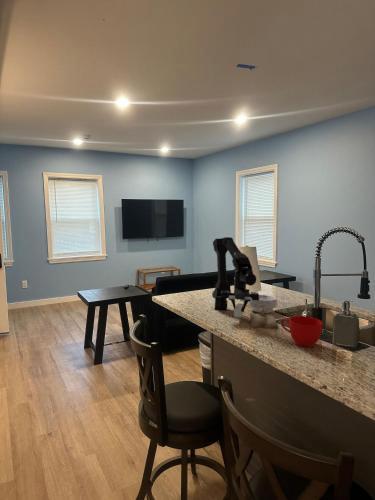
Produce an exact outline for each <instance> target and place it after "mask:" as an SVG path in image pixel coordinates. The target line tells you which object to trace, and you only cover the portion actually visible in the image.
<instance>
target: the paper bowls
mask: <svg viewBox="0 0 375 500" xmlns="http://www.w3.org/2000/svg"><path fill="white" fill-rule="evenodd" d="M277 302H278V299H277V298H276V297H275V296H272V295H266V294H259V300H252V299H251V301H249V302H248V306H249V307H251V309H252V311H253V312H254V313H255V312H256V313H257V314H260V309H264V314H269V313H271V312H273V310H274V309H277Z"/></svg>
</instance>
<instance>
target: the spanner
mask: <svg viewBox="0 0 375 500" xmlns="http://www.w3.org/2000/svg"><path fill="white" fill-rule="evenodd" d="M235 306H236V307H235V309H234V308H233V310H234V311H233V317H234V318H242V316H243V314H244V312H242V311H243V303H237V304H235Z"/></svg>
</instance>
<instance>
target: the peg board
mask: <svg viewBox="0 0 375 500" xmlns="http://www.w3.org/2000/svg"><path fill="white" fill-rule="evenodd" d="M249 317H250V325H251V327H252V328H260V329H261V328H262V329H275V330H278V329H279V327H278V326H279V325H278V323H277V321H276V318H275V315H274V314H269V313H264V309H260V313H251V312H250V313H249Z"/></svg>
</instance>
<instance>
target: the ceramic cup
mask: <svg viewBox="0 0 375 500" xmlns="http://www.w3.org/2000/svg"><path fill="white" fill-rule="evenodd" d="M284 321H286V322H287V323H288V325H289V328H287V327H286V326H285V324H284ZM280 324H281V327H282V329H284V331H286V332H288V333H289V334H290V336H291V338H292V340H293V341H294V343H295V345H297V346H299V345H300V346H299V347H302V346H304V347H303V348H311V347H310V346H312V347H313V346H314V345H316V343H317V342H318V341H319V340H320V338H321V335H322V332H323V325H324V324H323V321H322V320H320V319H318V318H315V317H311V316H306V315H305V316H304V315H294V316H291V317H290V318H289V319H288V318H282V319H281V321H280Z"/></svg>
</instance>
